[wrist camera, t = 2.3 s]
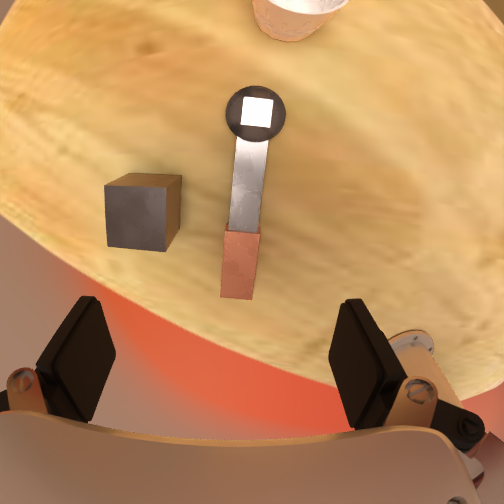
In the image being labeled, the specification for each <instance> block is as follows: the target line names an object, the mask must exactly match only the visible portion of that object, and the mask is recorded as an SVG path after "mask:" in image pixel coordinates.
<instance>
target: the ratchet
mask: <svg viewBox="0 0 504 504" xmlns="http://www.w3.org/2000/svg"><path fill="white" fill-rule="evenodd" d="M285 117H286V112H285V107H284V104H283V102H282V100H281V98H280V97H279V96H278V95H277V94H276V93H275V92H274V91H272V90H270V89H268V88H266V87H262V86H249V87H245V88H243V89H241V90H239V91H238V92H236V93H235V94H234V95H233V96H232V97H231V99H230V100H229V102H228V104H227V107H226V120H227V124H228V126H229V128H230V129H231V131H232V132H233V133H234V134H235V135H236V136H237V143H236V153H235V162H234V173H233V183H232V193H231V204H230V216H229V224H226V229H225V239H224V252H223V265H222V279H221V294H220V297H223V298H235V299H246V300H252V294H253V287H254V279H255V271H256V263H257V255H258V248H259V240H260V229H259V227H258V222H259V213H260V205H261V197H262V189H263V181H264V172H265V164H266V156H267V147H268V140H269V139H271V138H273V137H274V136H275V135H277V134H278V133H279V131H280V130H281V129H282V127H283V125H284V122H285Z"/></svg>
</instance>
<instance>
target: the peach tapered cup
mask: <svg viewBox="0 0 504 504" xmlns="http://www.w3.org/2000/svg"><path fill="white" fill-rule="evenodd" d="M348 1H349V0H252V5H253V10H254V19H255V20H256V22H257V24H258V26H259V28H260V30H262V31H263V32H264V33H266V34H267V35H268V36H270V37H271V38H274V39H278V40H281V41H285V42H288V41H300V40H302V39H304V38H306V37H308V36H310V35H311V34H312V33H313V32H314V31H316V30H317V29H318V28H320V27H321V26H322V25H323V24H324V23H326V22H327V21H328V20H329V19H330V18H331V17H332V16H333V15H334V14H335V13H336V12H337V11H338V10H340V9H341V8H342V7H343V6H344V5H345V4H346V3H347V2H348Z"/></svg>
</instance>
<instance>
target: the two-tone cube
mask: <svg viewBox="0 0 504 504" xmlns="http://www.w3.org/2000/svg"><path fill="white" fill-rule="evenodd" d="M181 179H182V175H164V174H139V173H129V174H127V175H125V176H123V177H121V178H118V179H116V180H114V181H112V182H110V183H108V184H106V185H104V193H105V217H106V233H107V245H108V247H117V248H127V249H137V250H148V251H158V252H166V251H167V249H168V247H169V245H170V244H171V242H172V240H173V239H174V237H175V235H176V234H177V232H178V230H179V229H180V201H181Z"/></svg>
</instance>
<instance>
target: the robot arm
mask: <svg viewBox="0 0 504 504" xmlns="http://www.w3.org/2000/svg"><path fill="white" fill-rule="evenodd" d="M433 351H434V343H433V340H432V339H431V337H430V336H429V335H428V334H427V333H425V332H423V331H409V332H405V333H402V334H400V335H398V336H396V337H394V338H392V339H390V340H389V341H388V340H387V338H386V336H385V335H384V333H383V332H382V331H381V330H380V329H379V328H378V326H377V324H376V322H375V321H374V319H373V317H372V316H371V314H370V312H369V311H368V309H367V307H366V306H365V304H364V302H363V301H362V299H347V300H346V301H345V303H342V304H341V306H340V310H339V314H338V318H337V323H336V327H335V331H334V335H333V339H332V343H331V347H330V350H329V356H328V357H329V363H330V366H331V369H332V372H333V375H334V378H335V381H336V384H337V388H338V391H339V393H340V397H341V400H342V403H343V406H344V410H345V413H346V416H347V419H348V422H349V425H350V427H351V428H355V431H349V432H343V433H335V434H327V435H319V436H310V437H300V438H289V439H288V438H287V439H272V440H271V439H270V440H204V439H203V440H202V439H187V438H176V437H175V438H174V437H165V436H156V435H149V434H141V433H135V432H128V431H122V430H116V429H111V428H106V427H101V426H97V425H92V424H88V421H91V420H92V418H93V415H94V412H95V410H96V407H97V404H98V401H99V399H100V396H101V393H102V391H103V388H104V385H105V383H106V380H107V378H108V375H109V373H110V370H111V367H112V365H113V362H114V360H115V357H116V351H115V348H114V345H113V342H112V339H111V336H110V333H109V330H108V326H107V323H106V320H105V317H104V313H103V310H102V306H101V303H100V301H98V300H97V299H96V298H95V297H94V296H81V297H80V298H79V300H78V301H77V302H76V304H75V305H74V306H73V308H72V309H71V311H70V312H69V314H68V315H67V316H66V318H65V319H64V321H63V322H62V324H61V325H60V327H59V328H58V330H57V331H56V333H55V334H54V336H53V337H52V339H51V340H50V342H49V343H48V345H47V346H46V348H45V350H44V351H43V353H42V354H41V356H40V358H39V359H38V361H37V363H36V366H37V368H36V369H35V371H34V370H33V369H31V368H26V367H24V368H19V369H17V370H15V371H14V372H13V373H12V374H11V375H10V376H9V378H8V380H7V390H4V391H2V392H0V504H504V442H503V441H502V440H501V439H499V438H498V437H497V436H495V435H494V434H493V433H491V432H490V431H489V432H488V433H486V432H485V427H484V423H483V421H482V419H481V418H480V417H479V416H478V415H476V414H474V413H472V412H470V411H467V410H465V409H464V407H463V406H462V404H461V402H460V401H459V399H458V397H457V395H456V394H455V392H454V390H453V389H452V387H451V385H450V384H449V382H448V381H447V379H446V377H445V376H444V374H443V373H442V371H441V369H440V368H439V366H438V365H437V363H436V362H435V360H434V358H433V357H432V355H433Z"/></svg>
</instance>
